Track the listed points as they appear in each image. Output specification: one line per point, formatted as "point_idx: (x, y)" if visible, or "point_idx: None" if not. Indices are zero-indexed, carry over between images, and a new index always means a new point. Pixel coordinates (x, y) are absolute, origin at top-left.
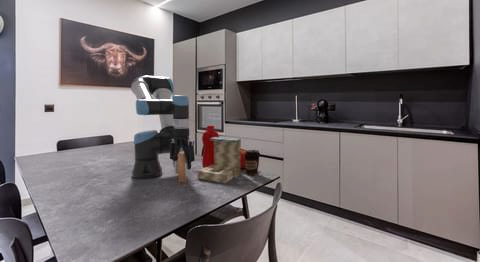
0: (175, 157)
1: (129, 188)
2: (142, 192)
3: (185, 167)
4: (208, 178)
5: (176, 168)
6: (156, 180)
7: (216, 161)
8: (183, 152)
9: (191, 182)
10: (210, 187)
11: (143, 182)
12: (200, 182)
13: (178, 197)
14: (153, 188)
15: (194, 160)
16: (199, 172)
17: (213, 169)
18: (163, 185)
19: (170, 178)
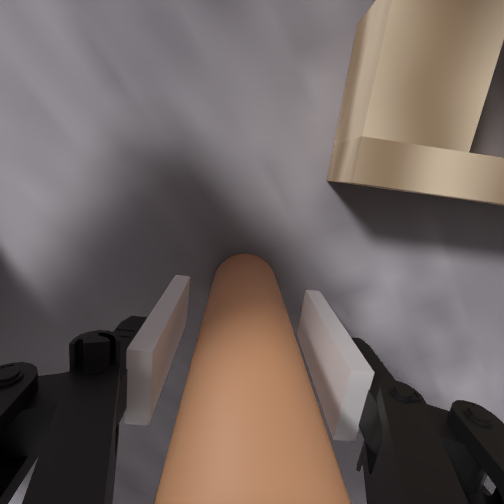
0: (114, 474)
1: (25, 487)
2: (144, 501)
3: (318, 390)
4: (441, 196)
5: (175, 343)
6: (49, 333)
7: None
8: (234, 494)
9: (322, 284)
10: (486, 324)
11: None
12: (387, 262)
13: (362, 488)
14: (154, 446)
15: (487, 414)
16: (368, 185)
17: (498, 29)
18: (173, 392)
19: (112, 259)
